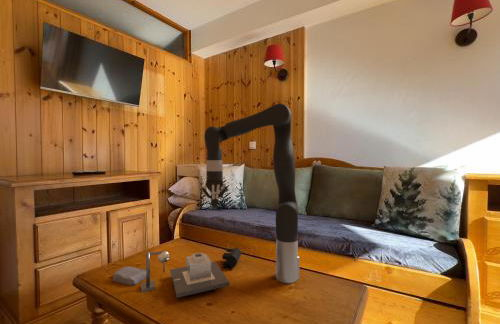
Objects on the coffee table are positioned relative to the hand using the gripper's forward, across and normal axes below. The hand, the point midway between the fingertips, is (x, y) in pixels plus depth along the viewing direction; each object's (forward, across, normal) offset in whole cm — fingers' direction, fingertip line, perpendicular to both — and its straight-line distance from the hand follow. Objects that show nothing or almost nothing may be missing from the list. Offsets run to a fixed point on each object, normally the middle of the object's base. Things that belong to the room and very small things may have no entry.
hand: (214, 206), depth 114 cm
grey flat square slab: (+27, -10, -11) cm, 31 cm away
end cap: (+29, +9, 0) cm, 31 cm away
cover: (+26, -10, -11) cm, 30 cm away
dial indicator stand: (+29, -26, -6) cm, 40 cm away
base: (+29, -10, -11) cm, 33 cm away
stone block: (+30, -35, +5) cm, 46 cm away
